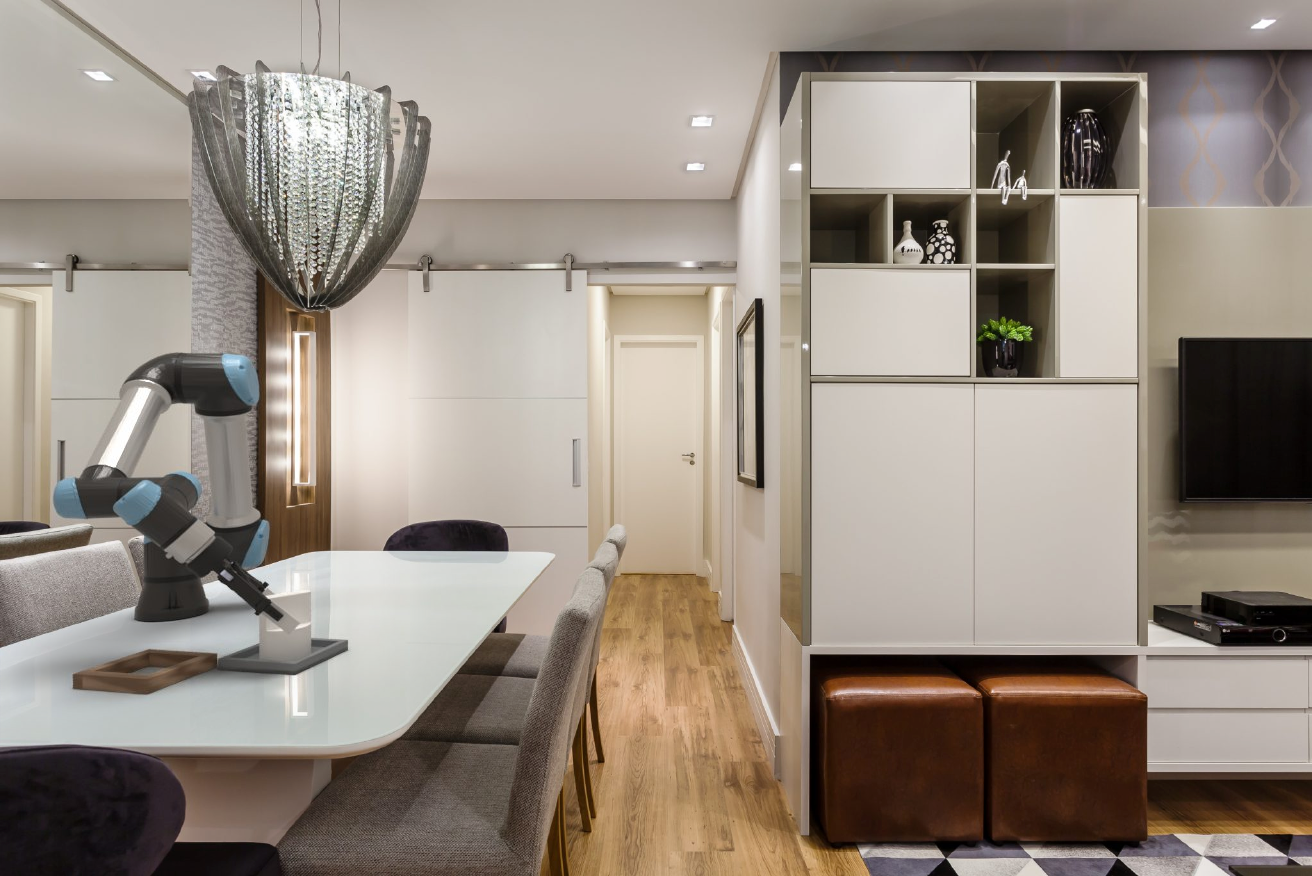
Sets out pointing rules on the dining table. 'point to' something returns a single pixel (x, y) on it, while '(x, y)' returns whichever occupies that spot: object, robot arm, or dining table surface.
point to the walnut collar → (120, 679)
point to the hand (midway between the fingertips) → (291, 620)
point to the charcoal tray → (252, 663)
